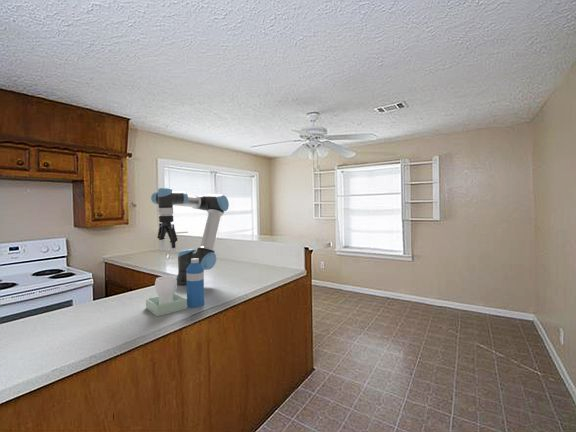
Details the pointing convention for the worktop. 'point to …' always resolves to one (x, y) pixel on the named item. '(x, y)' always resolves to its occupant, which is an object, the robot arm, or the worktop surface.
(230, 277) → the worktop surface
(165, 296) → the cup
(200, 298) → the water bottle
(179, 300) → the dish rack
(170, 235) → the robot arm
